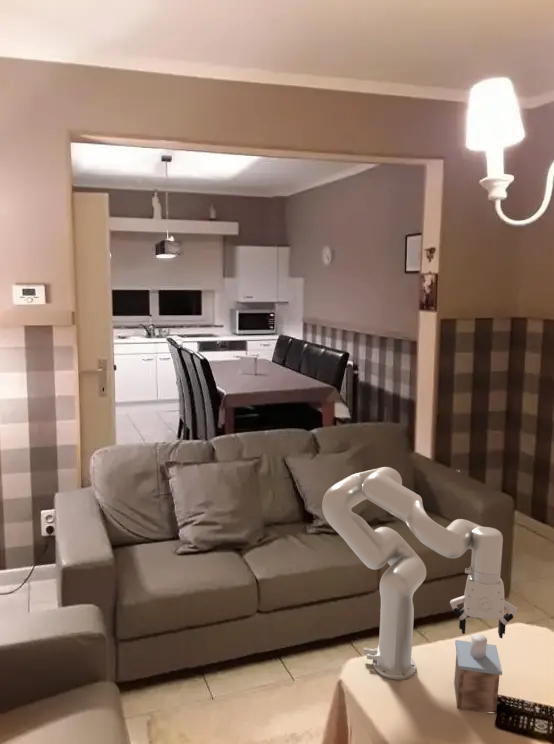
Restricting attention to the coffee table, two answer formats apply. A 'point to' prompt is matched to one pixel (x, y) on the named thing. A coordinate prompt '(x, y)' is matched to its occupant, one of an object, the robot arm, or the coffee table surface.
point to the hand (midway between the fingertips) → (481, 633)
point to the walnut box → (476, 690)
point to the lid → (478, 655)
